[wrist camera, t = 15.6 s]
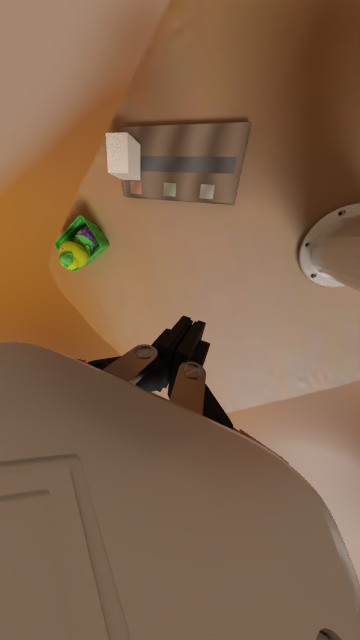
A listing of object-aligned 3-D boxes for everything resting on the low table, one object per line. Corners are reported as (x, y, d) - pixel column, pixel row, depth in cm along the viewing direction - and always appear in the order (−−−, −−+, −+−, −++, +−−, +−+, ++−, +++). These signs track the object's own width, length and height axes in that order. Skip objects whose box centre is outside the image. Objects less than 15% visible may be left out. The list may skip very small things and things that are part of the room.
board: (250, 127, 26) (250, 121, 25) (234, 204, 31) (233, 203, 29) (125, 131, 31) (120, 126, 30) (127, 197, 36) (122, 195, 34)
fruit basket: (97, 216, 40) (51, 207, 30) (119, 251, 42) (82, 254, 32) (71, 243, 45) (24, 244, 35) (92, 274, 47) (52, 282, 37)
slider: (140, 145, 30) (127, 132, 27) (140, 180, 32) (128, 173, 29) (120, 145, 31) (105, 133, 27) (122, 179, 33) (108, 172, 30)
